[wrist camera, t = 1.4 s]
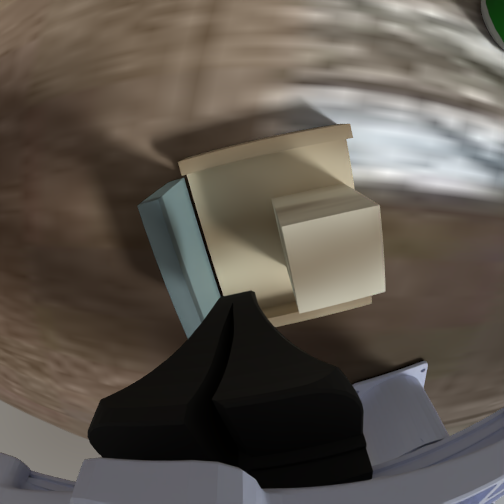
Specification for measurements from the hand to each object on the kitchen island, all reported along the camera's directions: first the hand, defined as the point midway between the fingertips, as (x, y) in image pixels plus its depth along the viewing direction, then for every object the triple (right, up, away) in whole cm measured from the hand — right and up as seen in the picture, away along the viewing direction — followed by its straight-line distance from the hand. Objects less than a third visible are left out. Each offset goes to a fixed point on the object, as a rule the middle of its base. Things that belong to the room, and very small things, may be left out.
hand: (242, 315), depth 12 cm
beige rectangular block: (+4, +4, +7) cm, 9 cm away
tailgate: (-3, +3, +8) cm, 9 cm away
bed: (+2, +4, +8) cm, 10 cm away
